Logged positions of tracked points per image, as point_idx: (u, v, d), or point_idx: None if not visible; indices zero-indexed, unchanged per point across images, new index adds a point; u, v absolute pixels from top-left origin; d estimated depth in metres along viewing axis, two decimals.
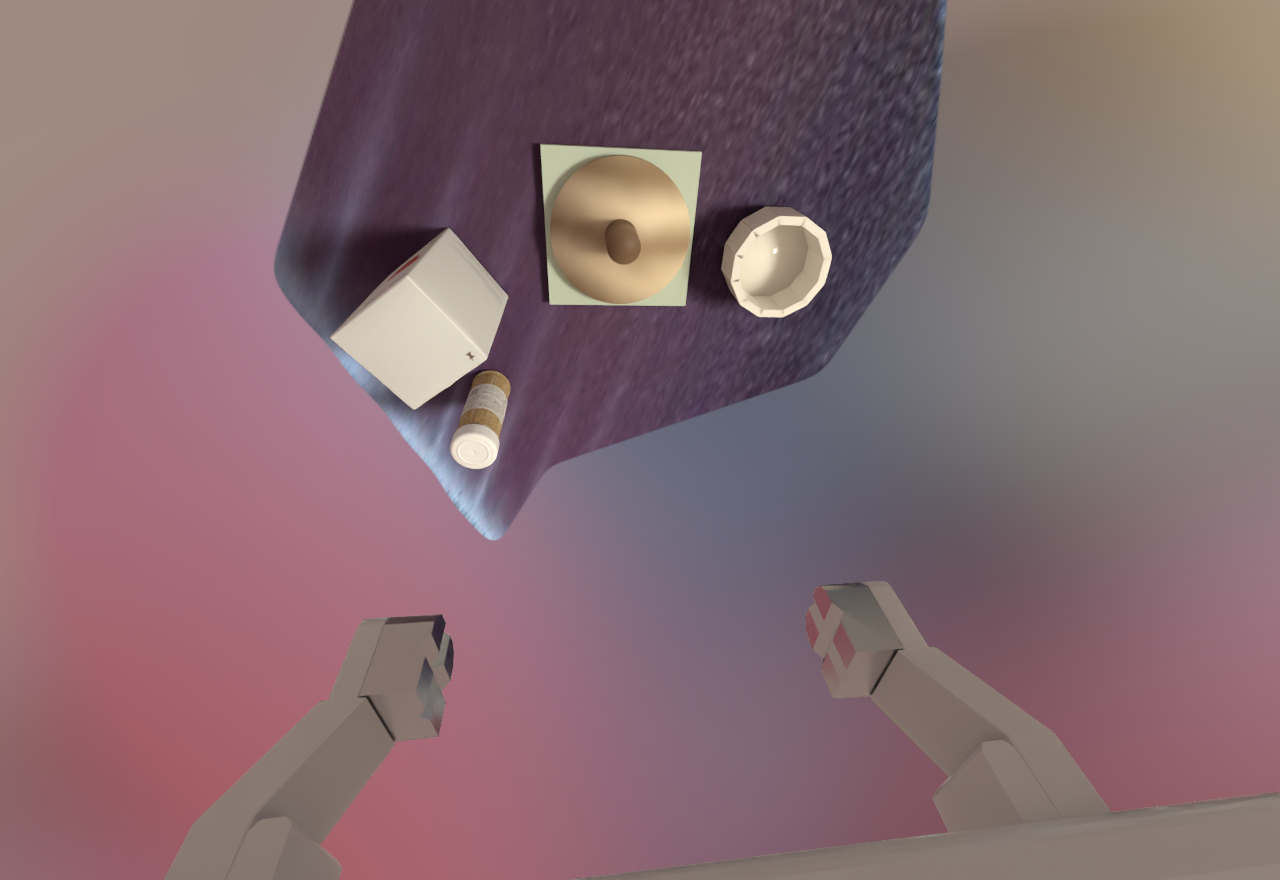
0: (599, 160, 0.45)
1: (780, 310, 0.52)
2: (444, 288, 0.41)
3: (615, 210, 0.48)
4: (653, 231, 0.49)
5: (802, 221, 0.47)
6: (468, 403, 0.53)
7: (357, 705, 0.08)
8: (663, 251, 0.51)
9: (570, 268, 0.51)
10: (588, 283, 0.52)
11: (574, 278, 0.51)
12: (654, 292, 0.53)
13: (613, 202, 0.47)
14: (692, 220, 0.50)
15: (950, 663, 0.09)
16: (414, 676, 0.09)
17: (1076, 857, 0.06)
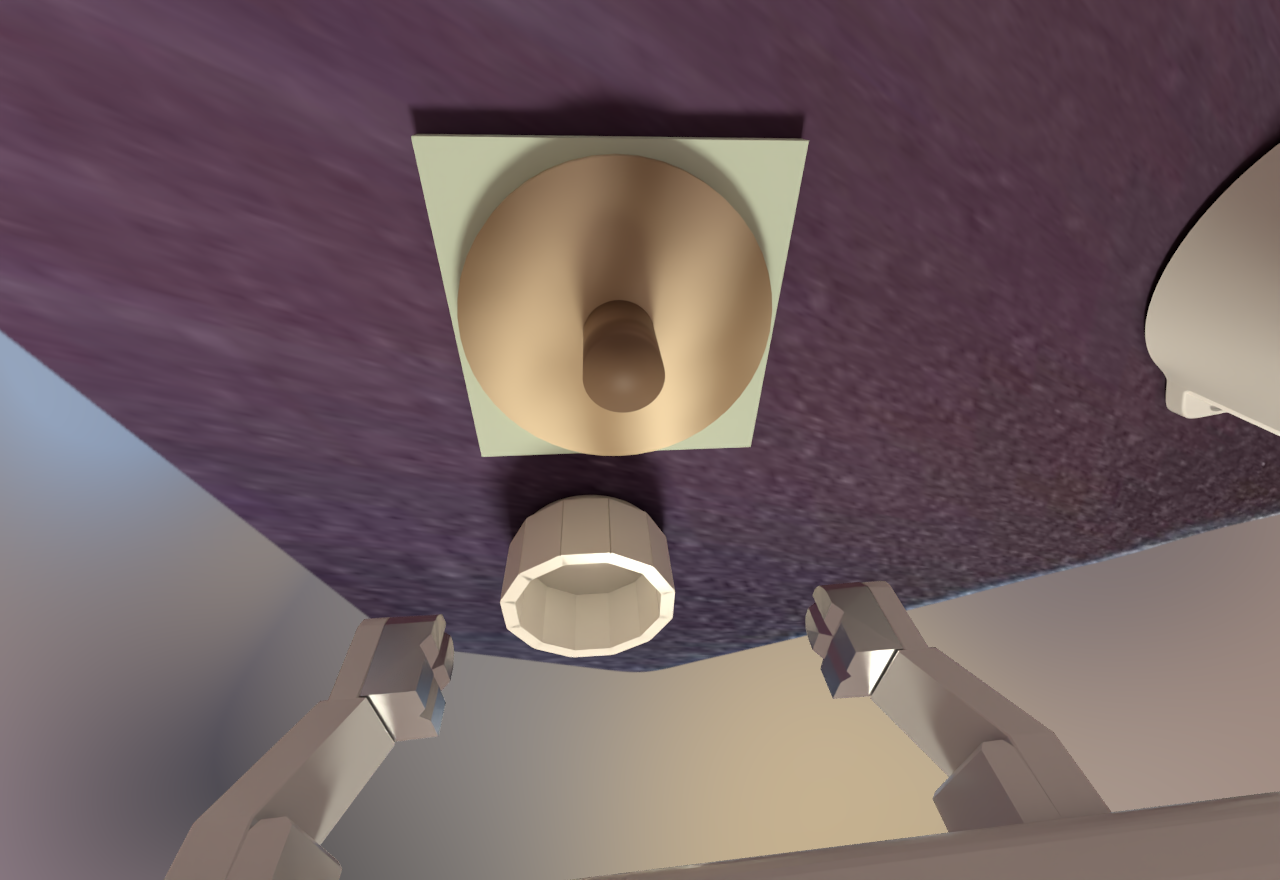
0: (768, 284, 0.22)
1: (518, 623, 0.29)
2: None
3: (670, 320, 0.22)
4: None
5: (664, 613, 0.30)
6: None
7: (357, 705, 0.08)
8: (591, 416, 0.25)
9: (531, 213, 0.19)
10: (499, 261, 0.20)
11: (506, 222, 0.19)
12: (503, 408, 0.24)
13: (687, 315, 0.22)
14: None
15: (950, 663, 0.09)
16: (414, 676, 0.09)
17: (1076, 857, 0.06)
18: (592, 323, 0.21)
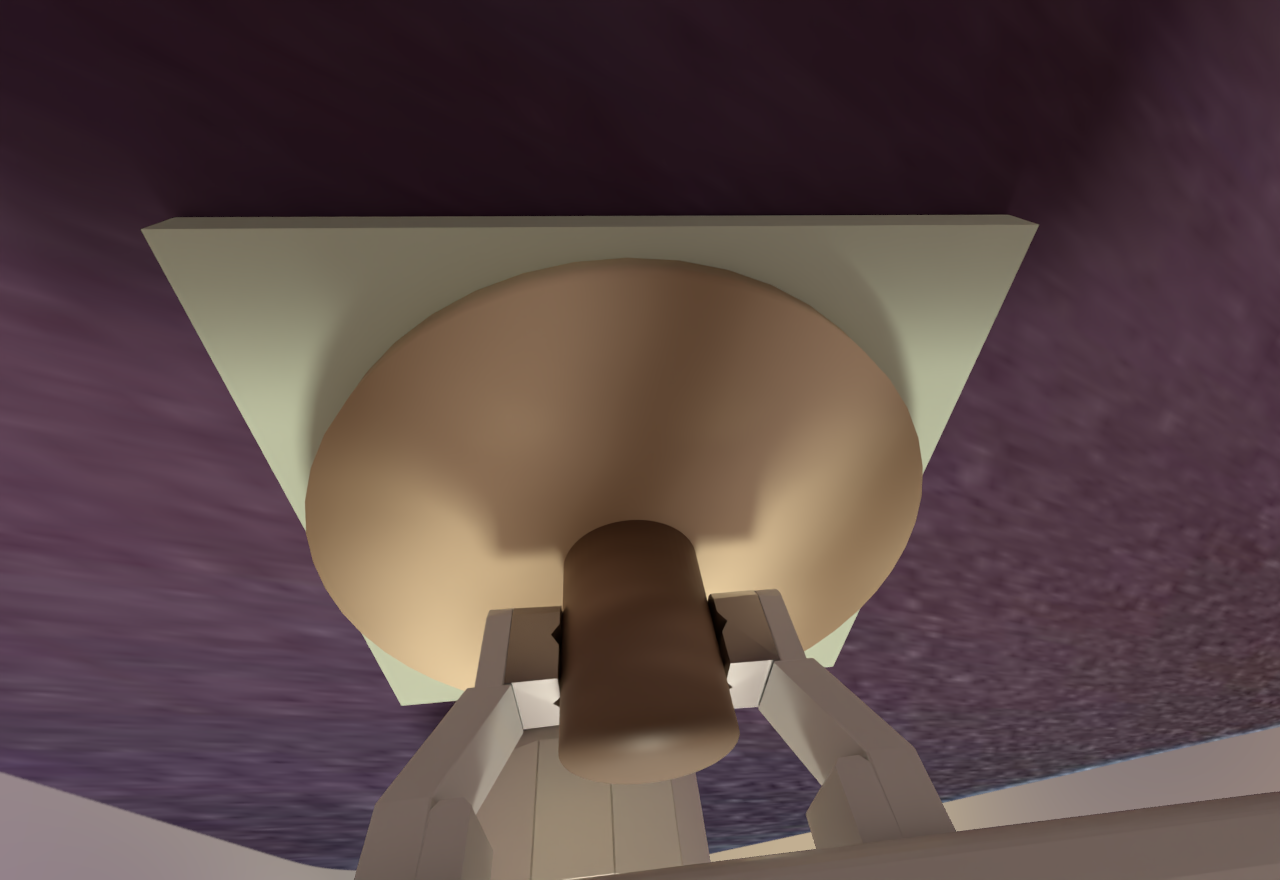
0: (918, 483, 0.11)
1: None
2: None
3: (727, 542, 0.12)
4: None
5: None
6: None
7: (505, 692, 0.09)
8: None
9: (441, 389, 0.09)
10: (382, 473, 0.10)
11: (386, 407, 0.09)
12: (425, 670, 0.14)
13: (759, 535, 0.12)
14: None
15: (824, 675, 0.09)
16: (552, 664, 0.09)
17: (1076, 857, 0.06)
18: (580, 585, 0.10)
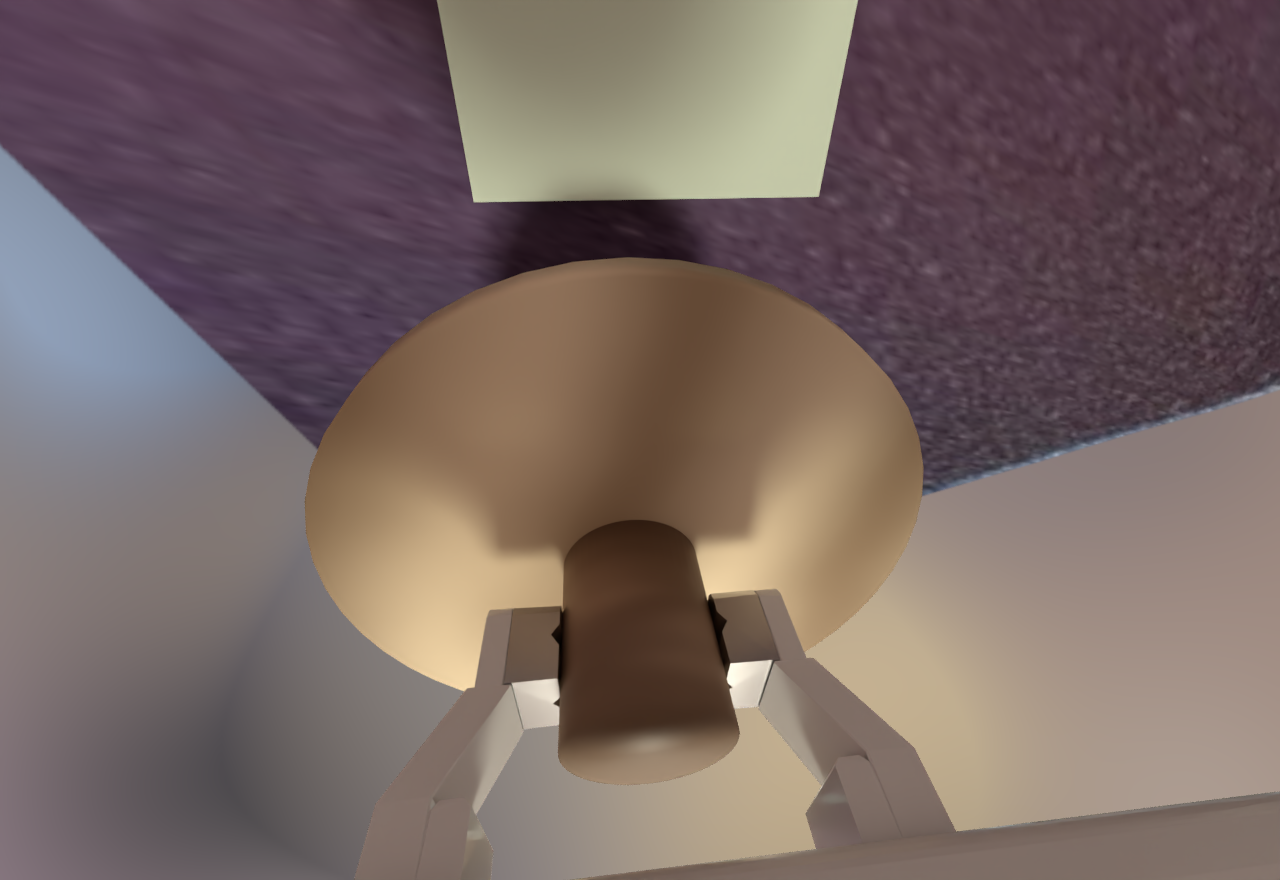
0: (918, 483, 0.11)
1: None
2: None
3: (728, 542, 0.12)
4: None
5: None
6: None
7: (505, 692, 0.09)
8: None
9: (441, 389, 0.09)
10: (382, 473, 0.10)
11: (387, 406, 0.09)
12: (425, 670, 0.14)
13: (760, 535, 0.12)
14: (684, 193, 0.21)
15: (824, 675, 0.09)
16: (552, 664, 0.09)
17: (1076, 857, 0.06)
18: (580, 585, 0.10)
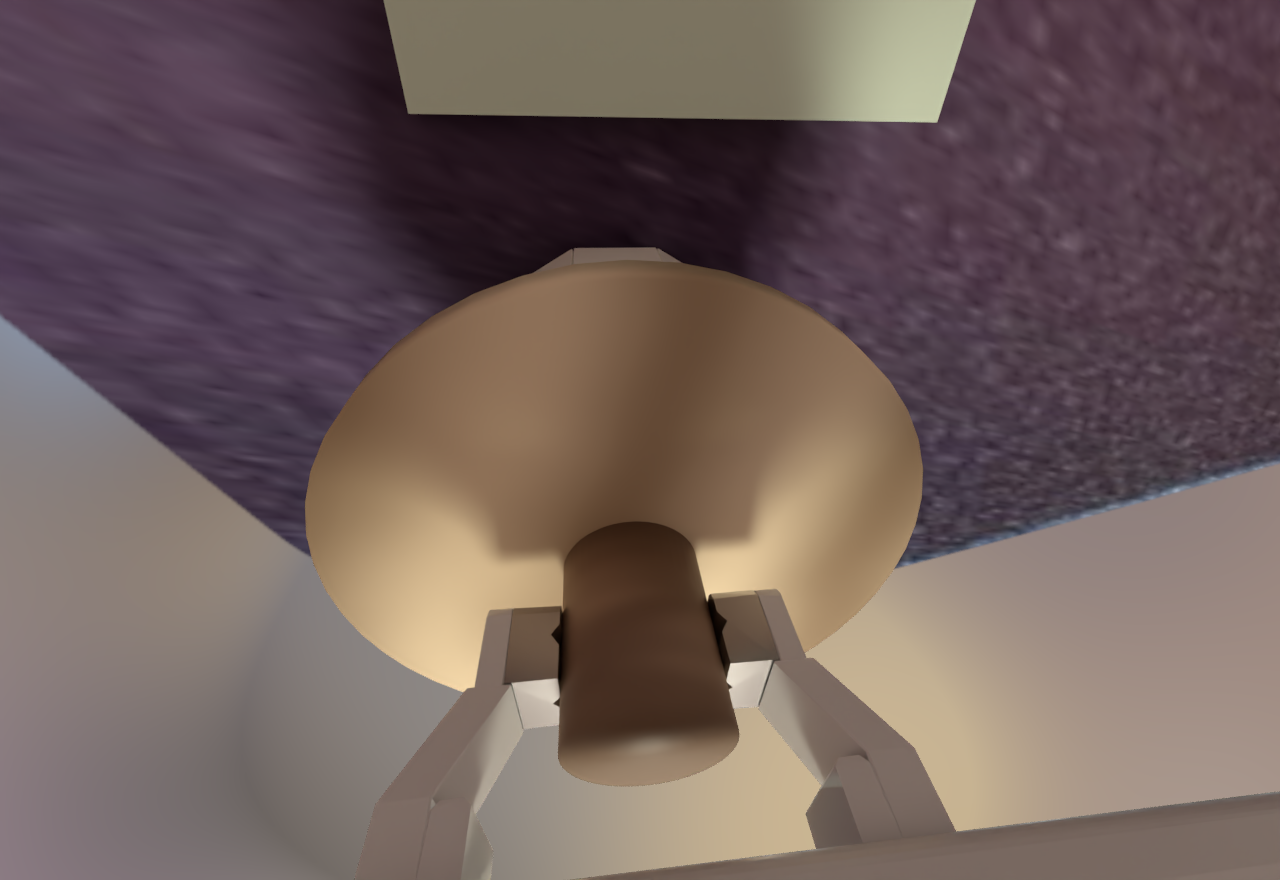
0: (918, 485, 0.11)
1: None
2: None
3: (728, 543, 0.12)
4: None
5: None
6: None
7: (505, 692, 0.09)
8: None
9: (441, 391, 0.09)
10: (383, 475, 0.10)
11: (388, 408, 0.09)
12: (425, 672, 0.14)
13: (759, 536, 0.12)
14: (737, 110, 0.14)
15: (824, 675, 0.09)
16: (552, 664, 0.09)
17: (1076, 857, 0.06)
18: (580, 586, 0.10)
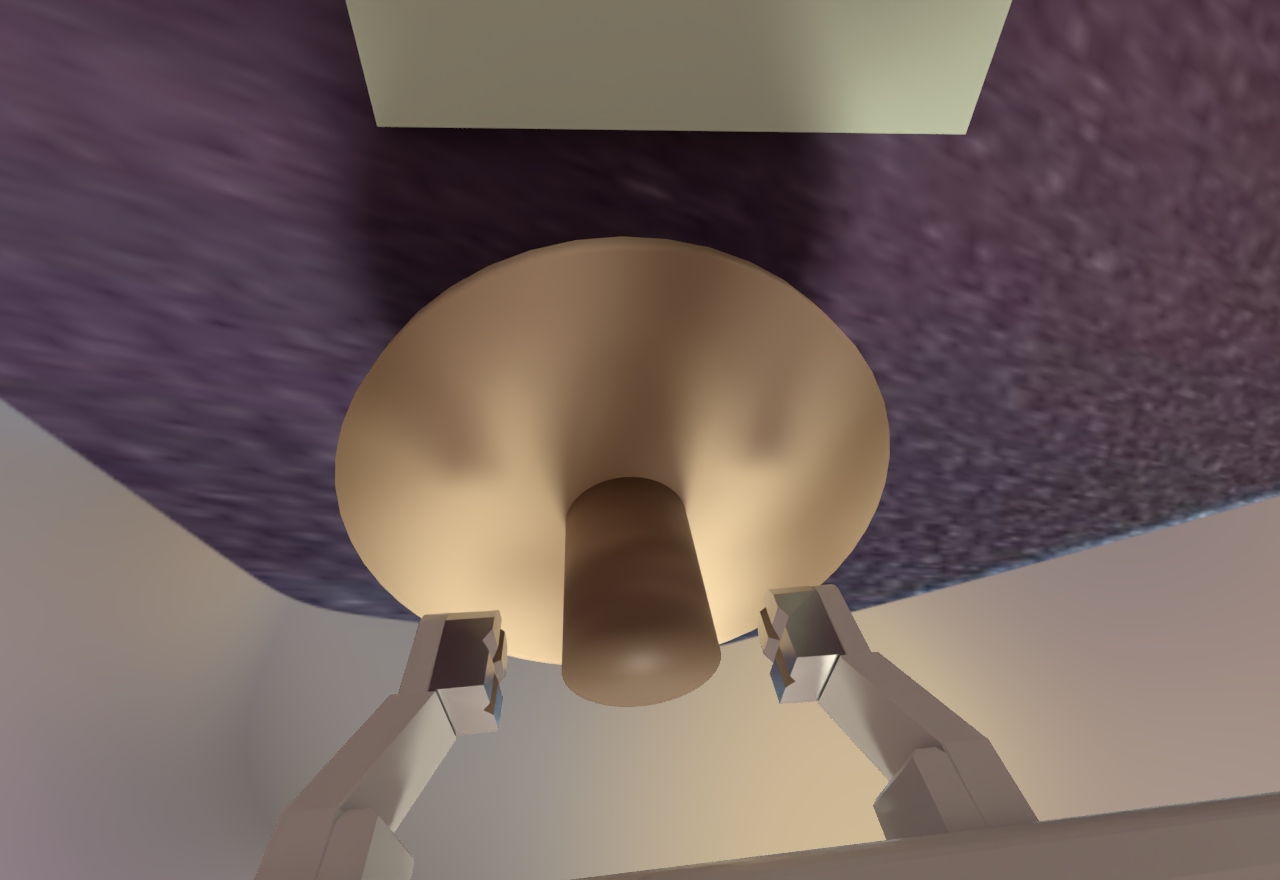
0: (885, 445, 0.12)
1: None
2: None
3: (714, 500, 0.13)
4: None
5: None
6: None
7: (428, 699, 0.08)
8: None
9: (459, 352, 0.10)
10: (405, 430, 0.11)
11: (411, 367, 0.10)
12: None
13: (743, 493, 0.13)
14: (745, 121, 0.12)
15: (891, 669, 0.09)
16: (480, 670, 0.09)
17: (1076, 857, 0.06)
18: (580, 532, 0.11)
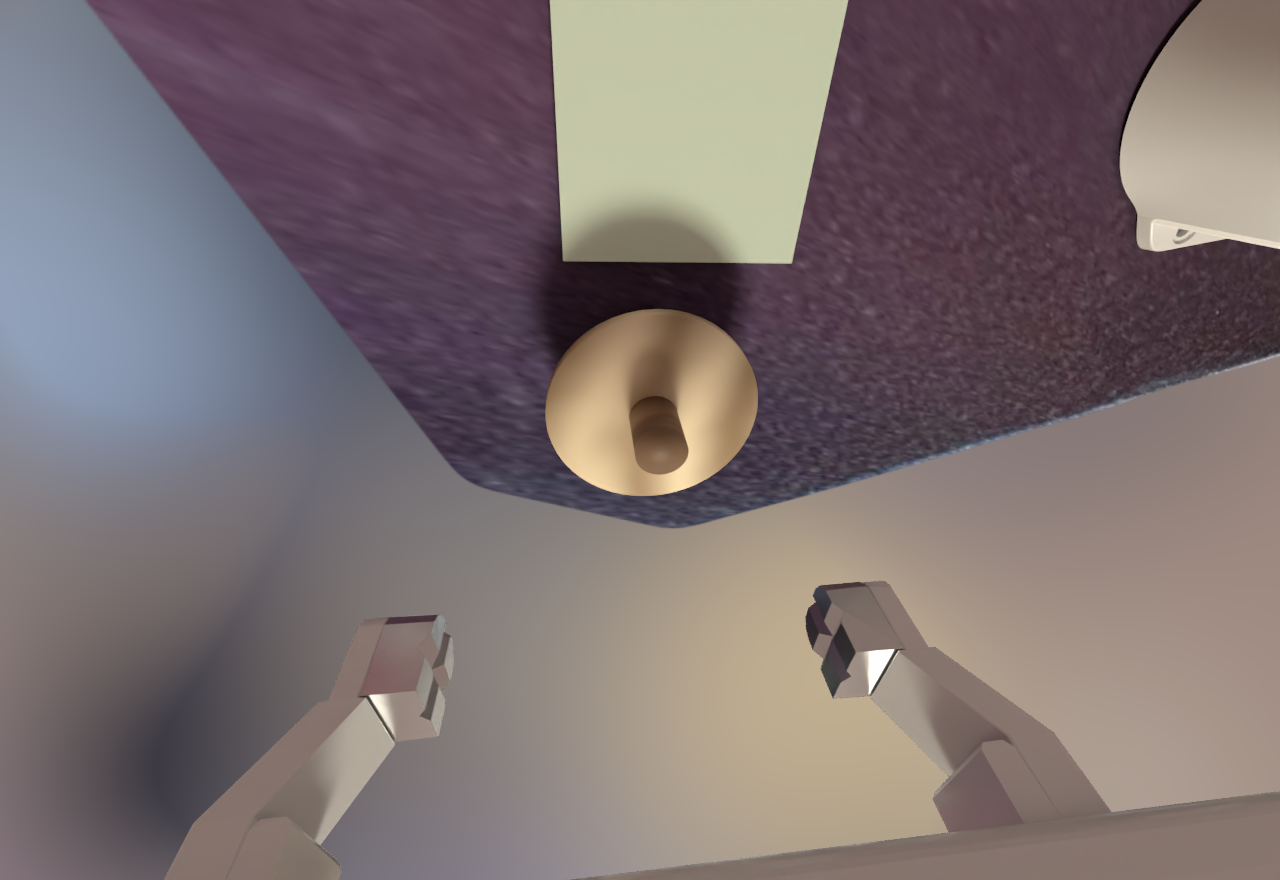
0: (755, 385, 0.32)
1: None
2: None
3: (688, 407, 0.32)
4: None
5: None
6: None
7: (357, 705, 0.08)
8: (630, 469, 0.35)
9: (602, 346, 0.29)
10: (577, 374, 0.30)
11: (585, 351, 0.29)
12: (569, 464, 0.34)
13: (700, 405, 0.32)
14: (702, 259, 0.32)
15: (950, 663, 0.09)
16: (414, 676, 0.09)
17: (1076, 857, 0.06)
18: (638, 414, 0.31)
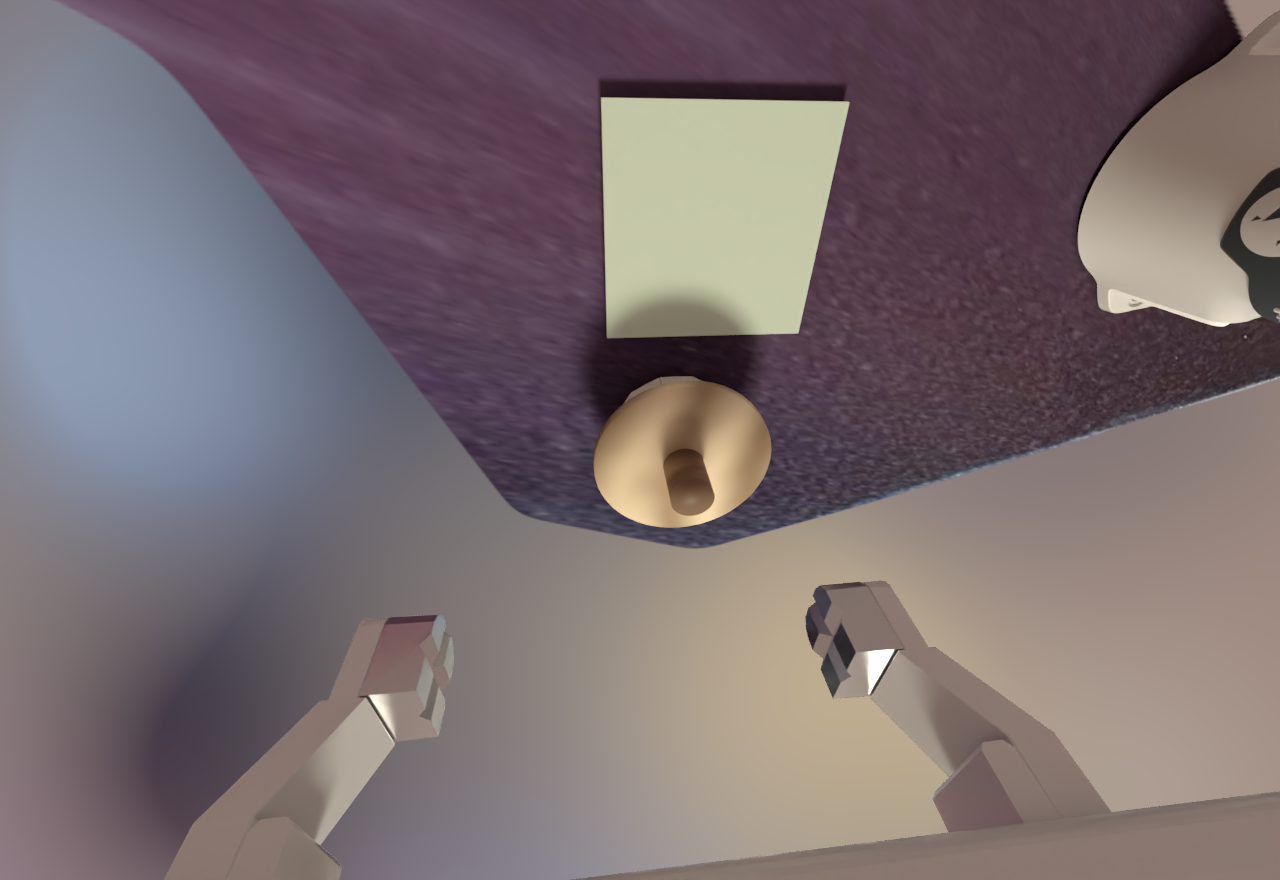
0: (769, 438, 0.38)
1: None
2: None
3: (713, 457, 0.39)
4: None
5: None
6: None
7: (357, 705, 0.08)
8: (663, 506, 0.41)
9: (642, 412, 0.35)
10: (621, 433, 0.36)
11: (628, 416, 0.36)
12: (612, 504, 0.41)
13: (722, 454, 0.39)
14: (723, 332, 0.38)
15: (950, 663, 0.09)
16: (414, 676, 0.09)
17: (1076, 857, 0.06)
18: (671, 465, 0.37)
